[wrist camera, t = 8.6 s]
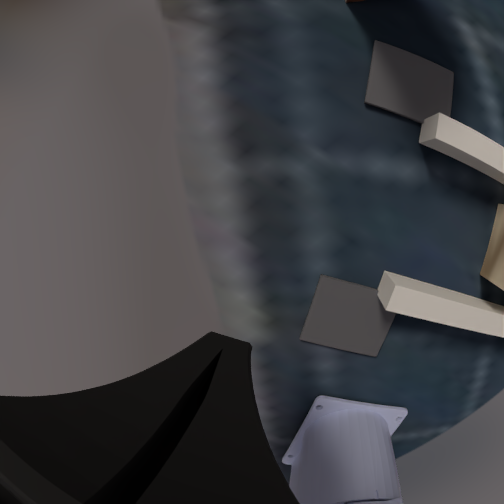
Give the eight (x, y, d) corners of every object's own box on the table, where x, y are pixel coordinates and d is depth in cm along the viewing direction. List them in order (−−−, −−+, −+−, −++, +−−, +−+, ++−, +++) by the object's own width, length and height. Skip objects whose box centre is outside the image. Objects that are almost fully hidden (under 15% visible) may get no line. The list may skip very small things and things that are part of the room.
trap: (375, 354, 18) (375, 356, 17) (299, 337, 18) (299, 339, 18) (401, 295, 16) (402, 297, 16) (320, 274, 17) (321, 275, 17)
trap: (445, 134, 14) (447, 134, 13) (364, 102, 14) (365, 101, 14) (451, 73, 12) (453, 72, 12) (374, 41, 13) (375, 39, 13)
